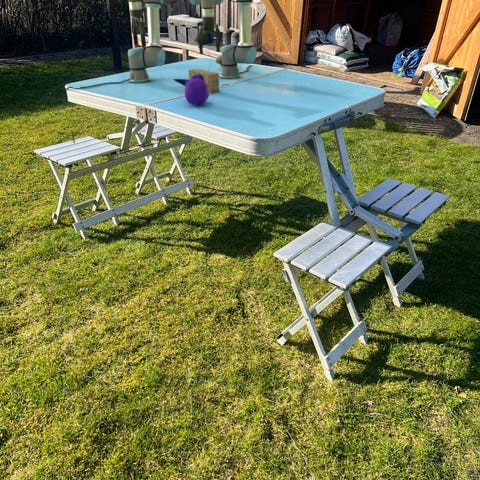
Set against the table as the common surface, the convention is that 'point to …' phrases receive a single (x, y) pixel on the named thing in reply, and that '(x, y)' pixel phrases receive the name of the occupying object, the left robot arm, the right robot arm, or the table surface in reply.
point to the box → (207, 79)
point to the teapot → (219, 60)
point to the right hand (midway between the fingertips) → (209, 53)
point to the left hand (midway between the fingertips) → (140, 45)
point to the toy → (195, 89)
